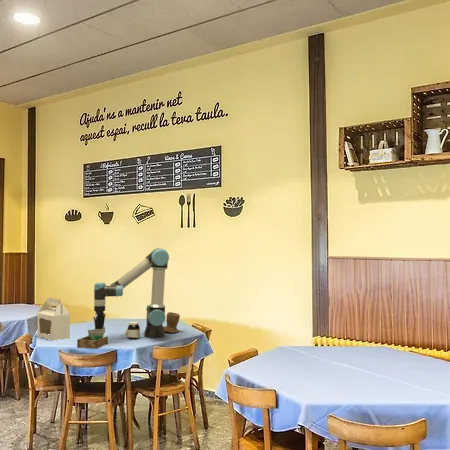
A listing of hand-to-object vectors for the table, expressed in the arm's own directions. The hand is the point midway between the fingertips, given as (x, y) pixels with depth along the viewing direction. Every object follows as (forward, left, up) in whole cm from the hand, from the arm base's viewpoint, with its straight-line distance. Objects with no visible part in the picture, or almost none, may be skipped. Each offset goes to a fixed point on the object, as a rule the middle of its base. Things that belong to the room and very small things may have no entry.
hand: (99, 339), depth 347 cm
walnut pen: (0, +10, -2) cm, 10 cm away
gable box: (+40, -6, -2) cm, 41 cm away
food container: (-1, +5, -2) cm, 5 cm away
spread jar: (-15, -19, -2) cm, 24 cm away
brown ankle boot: (-34, -47, -2) cm, 58 cm away
